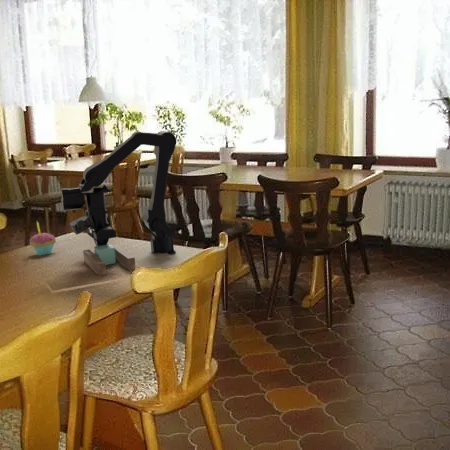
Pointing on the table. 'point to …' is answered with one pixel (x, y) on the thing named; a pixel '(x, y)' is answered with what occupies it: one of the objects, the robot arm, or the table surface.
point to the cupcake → (42, 242)
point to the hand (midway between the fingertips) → (101, 255)
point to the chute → (99, 264)
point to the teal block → (105, 253)
